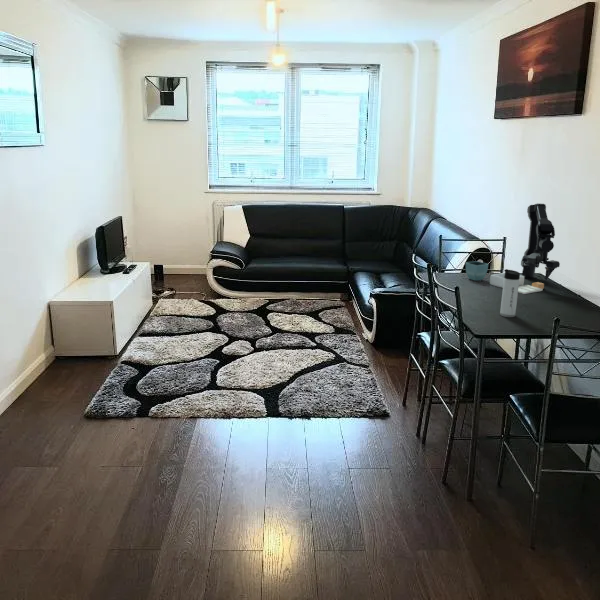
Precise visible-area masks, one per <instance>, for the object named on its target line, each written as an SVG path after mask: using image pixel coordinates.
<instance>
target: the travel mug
mask: <svg viewBox="0 0 600 600" xmlns="http://www.w3.org/2000/svg"><path fill="white" fill-rule="evenodd" d="M503 272H504V273H505V276H504V284H503V288H502V293H501V294H502V295H501V300H500V301H501V302H500V310H499V311H500V312H499V316H502V317H504V318H515V317H516V311H517V303H518V295H519V294H518V293H519V292H518V288H519V278H520V275H521V273H520V272H519V271H516V270H513V269H504V271H503Z"/></svg>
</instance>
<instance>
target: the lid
mask: <svg viewBox="0 0 600 600" xmlns="http://www.w3.org/2000/svg"><path fill="white" fill-rule="evenodd" d="M544 288H545V283H542V282H539V281H537V282H532V283H531V285H529V284H524V285H521V286H519V288H518V293H519V294H523V295H526V294H531V293H537V292H543V289H544Z"/></svg>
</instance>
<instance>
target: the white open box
mask: <svg viewBox="0 0 600 600" xmlns="http://www.w3.org/2000/svg"><path fill="white" fill-rule="evenodd" d="M504 276H505V272H501V273H494V274H490V276H489V277H490V278H489V285H491V286H494V287H498V288H502V289H503V284H504ZM524 282H525V278H524V276H522V274H520V278H519V286H521V285H525V284H524Z"/></svg>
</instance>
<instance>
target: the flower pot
mask: <svg viewBox="0 0 600 600" xmlns="http://www.w3.org/2000/svg"><path fill="white" fill-rule="evenodd" d="M488 268H489V264H488V263H486V262H481V261H478V260H477V261H467V262H465V273H466V276H467V278H468V279H469V280H472V281H482V280H483V279H484V278H485V277H486V275H487V272H488Z"/></svg>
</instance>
